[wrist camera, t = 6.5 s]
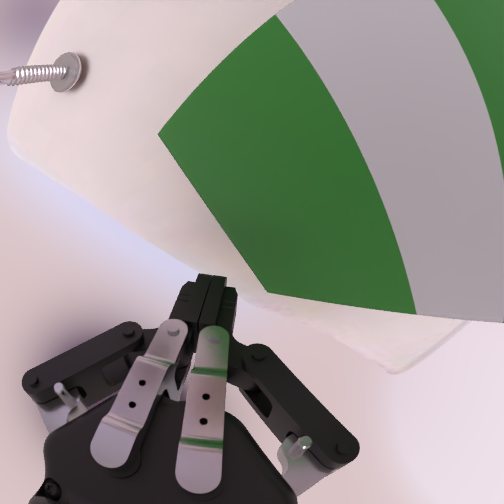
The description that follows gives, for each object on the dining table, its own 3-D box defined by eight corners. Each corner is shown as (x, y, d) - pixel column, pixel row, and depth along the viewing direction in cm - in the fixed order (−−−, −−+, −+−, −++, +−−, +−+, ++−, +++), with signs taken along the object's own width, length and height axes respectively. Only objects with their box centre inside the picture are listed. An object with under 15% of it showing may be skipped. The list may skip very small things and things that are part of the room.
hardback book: (157, 134, 20) (456, -72, 1) (219, 101, 23) (460, -28, 4) (267, 292, 27) (544, 325, 7) (307, 244, 30) (539, 239, 10)
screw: (55, 84, 21) (71, 48, 19) (79, 96, 23) (96, 59, 20) (-26, 99, 10) (-11, 49, 8) (-6, 114, 12) (10, 59, 9)
